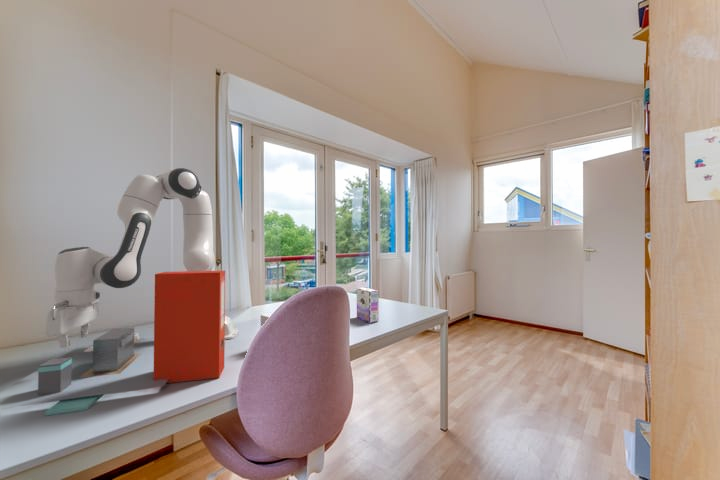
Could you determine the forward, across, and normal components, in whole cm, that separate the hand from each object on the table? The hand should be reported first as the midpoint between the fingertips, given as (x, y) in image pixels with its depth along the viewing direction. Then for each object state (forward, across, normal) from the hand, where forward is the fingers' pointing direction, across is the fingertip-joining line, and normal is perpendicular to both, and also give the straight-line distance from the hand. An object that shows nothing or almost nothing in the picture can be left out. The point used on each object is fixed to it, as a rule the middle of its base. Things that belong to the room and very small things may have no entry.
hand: (74, 341), depth 91 cm
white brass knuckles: (+10, +20, -3) cm, 22 cm away
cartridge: (+10, -16, -4) cm, 19 cm away
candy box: (+10, +28, -110) cm, 114 cm away
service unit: (+8, -2, -11) cm, 14 cm away
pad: (+10, -23, -12) cm, 28 cm away
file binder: (+10, -15, -36) cm, 40 cm away
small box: (+10, +2, -61) cm, 62 cm away
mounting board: (+10, -2, -11) cm, 15 cm away
